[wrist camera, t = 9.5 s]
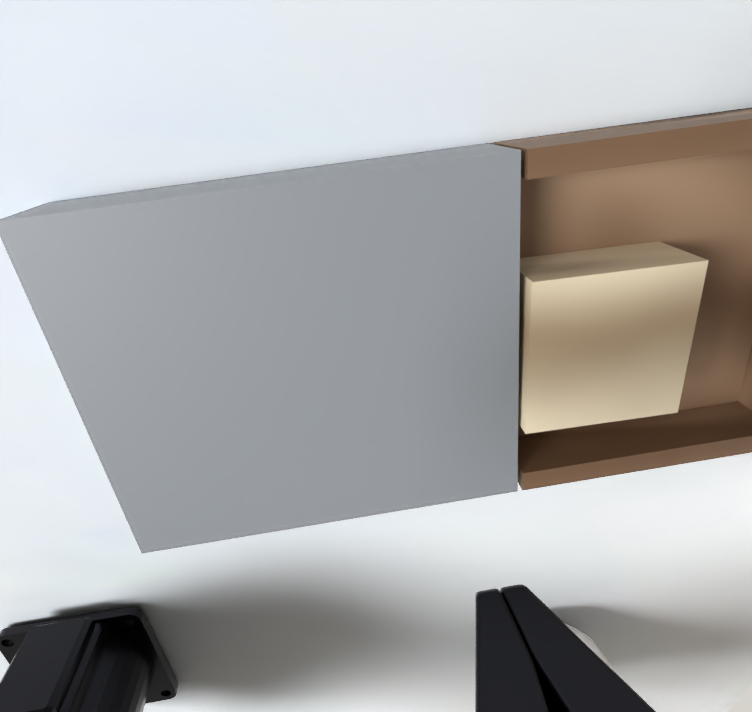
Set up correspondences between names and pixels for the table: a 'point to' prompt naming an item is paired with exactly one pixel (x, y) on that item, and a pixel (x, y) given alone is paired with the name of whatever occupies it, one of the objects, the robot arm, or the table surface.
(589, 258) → the tile
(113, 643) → the robot arm
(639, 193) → the box
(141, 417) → the plate
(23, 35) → the table surface
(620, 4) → the table surface
